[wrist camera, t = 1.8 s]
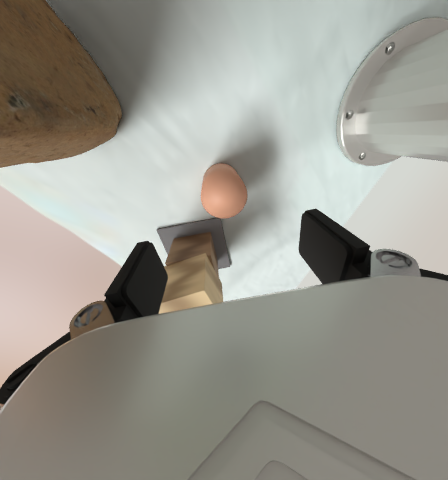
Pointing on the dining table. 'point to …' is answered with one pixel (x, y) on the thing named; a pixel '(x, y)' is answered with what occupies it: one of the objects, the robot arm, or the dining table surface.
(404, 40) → the robot arm
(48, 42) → the block
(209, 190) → the peach egg-shaped pebble
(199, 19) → the dining table surface
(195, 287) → the tower top
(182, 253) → the block
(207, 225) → the mat
